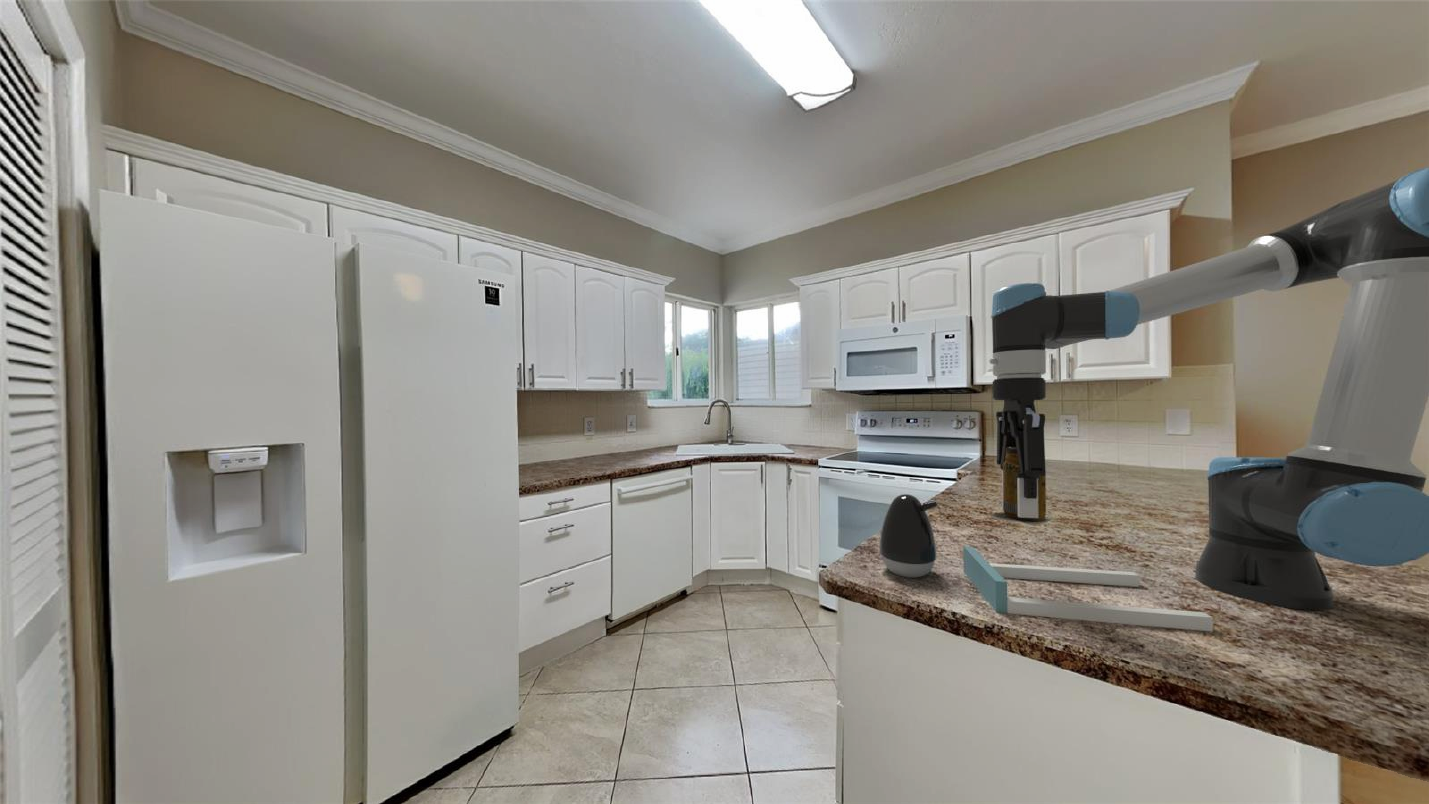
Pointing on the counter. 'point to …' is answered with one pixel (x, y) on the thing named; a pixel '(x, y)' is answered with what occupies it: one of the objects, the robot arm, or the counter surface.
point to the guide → (995, 593)
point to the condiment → (1012, 494)
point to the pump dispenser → (908, 537)
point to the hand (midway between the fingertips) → (1019, 511)
